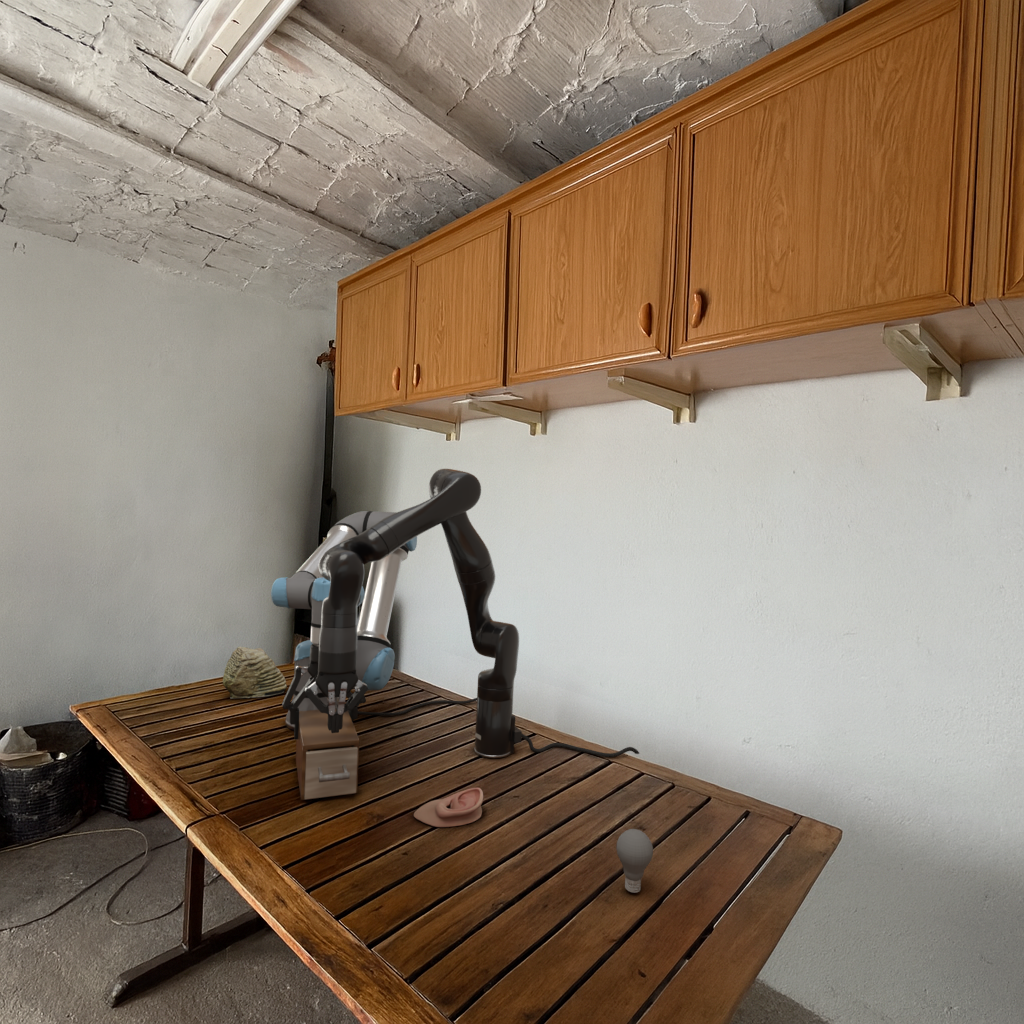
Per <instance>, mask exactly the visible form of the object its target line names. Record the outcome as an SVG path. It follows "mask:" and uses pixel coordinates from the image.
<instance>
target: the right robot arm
mask: <svg viewBox="0 0 1024 1024" xmlns="http://www.w3.org/2000/svg"><path fill="white" fill-rule="evenodd" d="M428 493H429V499H427V500H425V501H422V502H421V503H419V504H416V505H414V506H411V507H408V508H406V509H403V510H399V511H397V513H394V514H392V515H390V516H388V517H386V518H384V519H382V520H381V521H379V522H378V523H376V524H375V525H373V526H371V527H370V528H368V529H367V530H365V531H364V532H363V533H361V534H359V535H357V536H355V537H352V538H350V539H348V540H346V541H343V542H341V543H339V544H337V545H335V546H333V547H332V548H330V549H329V550H328V551H326V552H325V553H324V554H323V555H322V557H321V559H320V561H319V572H320V574H321V575H322V576H323V577H324V578H325V579H326V580H328V581H331V582H330V590H329V596H328V597H326V598H325V599H324V600H323V603H322V615H321V630H320V636H319V644H318V645H319V658H318V674H317V676H316V678H315V682H314V683H313V684H311V685H310V686H306V687H305V689H304V690H305V694H306V695H307V697H308V698H309V699H310V700H311V701H312V703H313V704H314V705H315V706H316V707H317V709H318V710H319V711H320V712H321V713H326V714H328V724H327V726H328V729H329V731H330V730H331V733H339V730H341V729H342V726H343V714H344V712H346V711H351V710H352V709H353V708H354V707H355V705H356V704H357V703H358V702H359V700H360V699H361V698H362V696H363V695H364V696H365V694H366V693H367V692H368V691H369V690H368V687H367V685H366V683H362V682H361V681H360V680H358V675H357V673H356V663H357V626H358V607H357V603H358V600H359V597H360V593H361V589H362V586H363V584H364V580H365V566H366V565H367V564H369V563H372V562H375V561H379V560H381V559H383V558H385V557H386V556H388V555H389V554H391V553H392V552H394V551H395V550H397V549H398V548H400V547H401V546H402V545H404V544H405V543H407V542H408V541H410V540H412V539H413V538H415V537H416V536H417V537H418V536H420V535H421V534H423V533H425V532H427V531H429V530H431V529H433V528H435V527H436V526H439V525H441V527H442V530H443V534H444V537H445V539H446V543H447V546H448V550H449V553H450V557H451V560H452V564H453V568H454V572H455V575H456V578H457V582H458V584H459V585H458V586H459V588H460V591H461V594H462V598H463V602H464V606H465V609H466V616H467V620H468V626H469V631H470V636H471V638H470V639H471V641H472V645H473V648H474V650H475V651H476V653H477V654H479V655H480V656H482V657H486V658H492V659H494V665H493V668H488V669H487V668H486V669H484V670H481V671H480V672H479V673H478V675H477V693H476V696H477V697H476V698H477V701H476V712H475V713H476V714H475V715H476V716H475V734H474V736H475V737H474V738H475V739H474V749H473V751H474V753H475V754H476V755H477V756H479V757H482V758H486V759H502V758H506V757H508V756H510V755H511V754H512V755H513V754H514V753H515V744H517V743H522V739H523V740H525V741H526V742H527V743H528V746H529V747H528V748H529V749H530V750H531V752H533V753H542V752H545V751H547V750H549V749H552V748H565V749H568V750H572V751H576V752H580V753H585V754H588V755H593V756H597V757H602V758H616V757H620V756H622V755H623V754H625V753H628V752H632V753H634V754H635V755H639V754H640V752H639V751H638V749H636V748H635V747H632V746H626V747H625V748H622V749H620V750H619V751H617V752H616V751H615V752H611V753H610V752H608V753H607V752H601V751H596V750H593V749H590V748H586V747H585V748H584V747H580V746H576V745H572V744H569V743H563V742H552V743H549V744H547V745H545V746H543V747H541V748H536V747H535V746H534V744H533V741H532V740H531V738H530V737H529V736H527V735H525V734H523V731H522V730H521V729H520V728H519V727H517V726H516V716H515V715H514V714H513V711H514V688H515V678H516V675H517V670H518V659H519V651H520V650H519V649H520V633H519V630H518V627H517V626H516V625H515V624H514V623H513V624H512V623H510V622H509V623H508V622H503V621H498V620H493V618H492V616H491V614H490V610H489V599H490V596H491V595H492V592H493V589H494V586H495V582H496V572H495V567H494V563H493V560H492V556H491V553H490V551H489V549H488V547H487V545H486V543H485V541H484V540H483V539H482V537H481V536H480V534H479V533H478V531H477V530H476V528H475V527H474V526H473V524H472V522H471V520H470V517H469V515H468V513H467V512H469V511H470V510H471V509H473V508H474V507H475V506H476V505H477V503H478V502H479V501H480V498H481V495H482V485H481V481H480V480H479V479H478V477H476V475H474V474H472V473H470V472H467V471H463V470H458V469H453V468H440V469H438V470H435V472H434V473H433V474H432V475H431V477H430V479H429V484H428ZM355 685H356V686H355ZM354 686H355V689H353V687H354ZM317 687H318V688H319V689H320V690H321V692H322V693H323V694H324V695H325V696H326V697H327V702H328V705H325V704H324V703H323V702H322V701H321V700H320V698H319V697H318V696H317V693H318V691H317ZM352 690H354V692H352ZM367 690H368V691H367ZM350 691H351V692H352V694H353V695H352V696H351V697H350V698H349V699H347V701H346V698H347V695H348V694H349V693H350ZM335 697H337V706H336V712H335Z"/></svg>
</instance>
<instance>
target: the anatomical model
mask: <svg viewBox="0 0 1024 1024" xmlns="http://www.w3.org/2000/svg"><path fill="white" fill-rule="evenodd" d="M483 802H484V792H483V790H482V788H480V787H471V788H467V789H464V790H461V791H458V792H456V793H454V794H451V795H449V796H446V797H444V798H441V799H440V798H439V799H434V800H430V801H429V802H427V803H424V804H423V805H421V806H419V808H418V809H417V810H415V811H414V813H413V817H414V818H415V819H416V820H417V821H419V822H422V823H424V824H426V825H428V826H432V827H434V828H435V827H436V828H449V827H450V828H451V827H457V826H464V825H467V824H471V823H474V822H475V821H477V820H479V819H480V818H481V817H482V814H483V809H482V805H483Z"/></svg>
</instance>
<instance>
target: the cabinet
mask: <svg viewBox="0 0 1024 1024" xmlns="http://www.w3.org/2000/svg"><path fill="white" fill-rule="evenodd" d="M335 712H336V708H335ZM327 724H328V714H326V713H321V712H320V711H319V710H309V711H299V729H298V739H297V740H295V741H296V742H295V746H296V747H295V764H296V772H297V780H298V788H299V797H300V801H304V800H307V799H305V798H304V794H305V768H306V752H308V750H311V749H321V748H331V747H341V746H351V747H357V748H358V753H357V778H356V793H355V794H358V786H359V785H358V783H359V761H360V760H359V757H360V738H359V736H358V734H357V730H356V728H355V725H354V722H353V723H352V720H351V717H350V715H349V712H348V711H346V712H344V714H343V726H342V729H341V730H339V733H331V730H330V731H329V729H328V726H327ZM352 794H354V793H351V794H350V795H352ZM345 795H346V794H343V795H342V796H345ZM336 796H338V795H336ZM336 796H335V797H336ZM329 797H330V796H328V797H327V798H329ZM321 798H323V797H320V799H321ZM312 799H313V800H314V799H315V798H312ZM312 799H311V800H312Z"/></svg>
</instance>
